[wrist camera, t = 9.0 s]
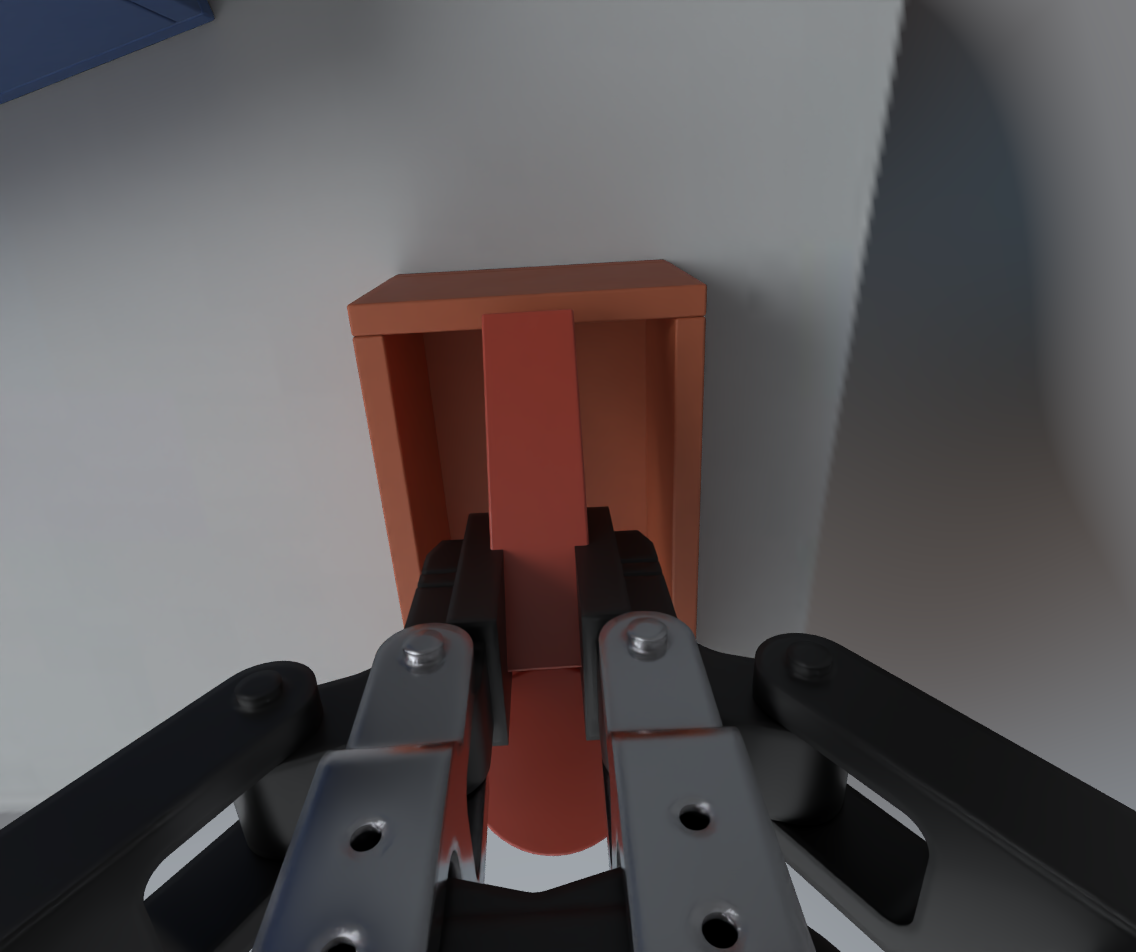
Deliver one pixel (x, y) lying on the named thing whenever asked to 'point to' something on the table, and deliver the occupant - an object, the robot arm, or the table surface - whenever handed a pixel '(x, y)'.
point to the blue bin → (82, 36)
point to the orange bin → (606, 392)
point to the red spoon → (540, 583)
